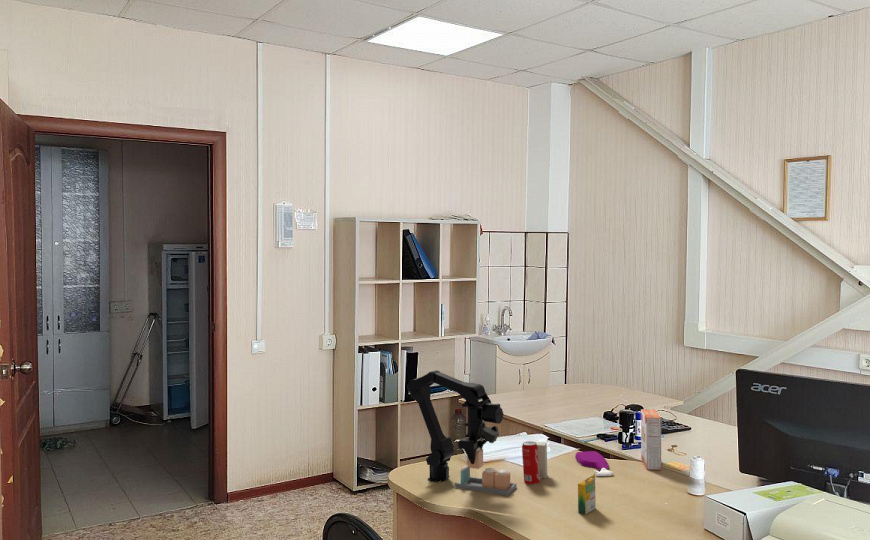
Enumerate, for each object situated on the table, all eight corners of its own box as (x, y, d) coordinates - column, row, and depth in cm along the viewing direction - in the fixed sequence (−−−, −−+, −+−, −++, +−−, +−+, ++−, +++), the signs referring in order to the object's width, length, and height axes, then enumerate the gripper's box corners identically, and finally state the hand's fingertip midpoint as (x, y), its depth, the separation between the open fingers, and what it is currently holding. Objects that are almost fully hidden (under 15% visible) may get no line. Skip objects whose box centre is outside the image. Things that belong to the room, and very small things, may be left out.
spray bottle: (598, 457, 288) (619, 478, 264) (572, 458, 287) (592, 479, 263) (598, 450, 288) (620, 470, 264) (572, 451, 287) (592, 471, 263)
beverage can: (539, 486, 253) (539, 445, 253) (521, 485, 255) (521, 444, 254) (540, 480, 259) (540, 441, 259) (522, 479, 261) (522, 440, 260)
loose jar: (478, 468, 250) (478, 450, 250) (467, 467, 252) (467, 448, 252) (483, 465, 254) (483, 446, 254) (472, 463, 256) (471, 445, 256)
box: (547, 475, 265) (547, 442, 265) (545, 479, 261) (545, 445, 260) (534, 474, 267) (533, 441, 266) (531, 478, 263) (531, 444, 262)
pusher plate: (460, 484, 252) (460, 468, 252) (467, 479, 258) (467, 463, 258) (463, 485, 252) (463, 469, 251) (470, 479, 257) (469, 464, 257)
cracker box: (640, 459, 284) (640, 408, 284) (655, 459, 284) (655, 409, 283) (645, 470, 271) (645, 417, 270) (661, 470, 270) (661, 417, 269)
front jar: (494, 491, 248) (494, 472, 247) (498, 487, 251) (498, 468, 251) (506, 492, 246) (506, 473, 245) (510, 488, 250) (510, 470, 249)
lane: (455, 488, 252) (455, 483, 252) (464, 481, 260) (464, 475, 260) (508, 496, 243) (508, 491, 243) (516, 488, 251) (516, 483, 251)
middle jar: (482, 489, 250) (482, 470, 249) (486, 485, 254) (486, 466, 253) (493, 490, 248) (493, 472, 247) (498, 487, 252) (497, 468, 251)
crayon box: (587, 506, 234) (587, 472, 233) (596, 508, 232) (596, 474, 231) (577, 512, 228) (577, 477, 228) (585, 515, 226) (585, 479, 226)
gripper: (486, 428, 240) (486, 472, 241) (504, 416, 257) (504, 457, 258) (456, 424, 245) (457, 468, 246) (476, 413, 262) (476, 454, 263)
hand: (475, 462), depth 253 cm, fingers closed on loose jar, 4 cm apart
